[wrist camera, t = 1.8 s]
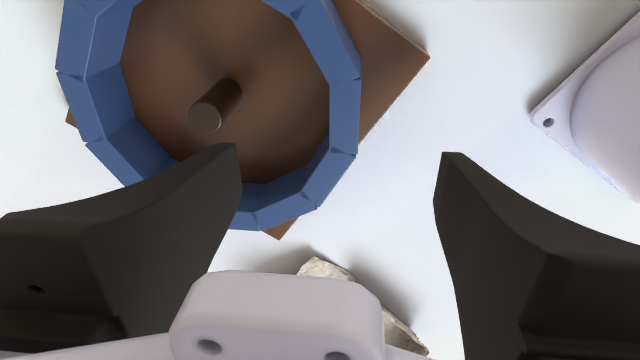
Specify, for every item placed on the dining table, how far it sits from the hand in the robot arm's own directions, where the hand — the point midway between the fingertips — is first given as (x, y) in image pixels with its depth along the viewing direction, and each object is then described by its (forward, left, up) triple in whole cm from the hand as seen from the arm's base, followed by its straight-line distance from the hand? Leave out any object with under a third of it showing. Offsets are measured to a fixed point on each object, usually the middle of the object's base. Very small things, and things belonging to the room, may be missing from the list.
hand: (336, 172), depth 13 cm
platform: (+5, +4, -9) cm, 11 cm away
